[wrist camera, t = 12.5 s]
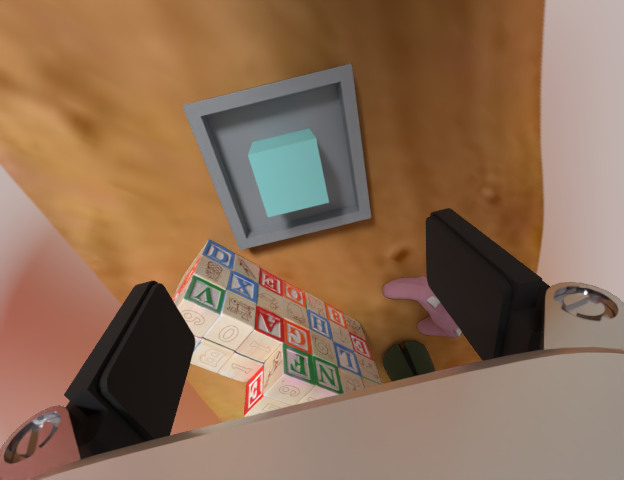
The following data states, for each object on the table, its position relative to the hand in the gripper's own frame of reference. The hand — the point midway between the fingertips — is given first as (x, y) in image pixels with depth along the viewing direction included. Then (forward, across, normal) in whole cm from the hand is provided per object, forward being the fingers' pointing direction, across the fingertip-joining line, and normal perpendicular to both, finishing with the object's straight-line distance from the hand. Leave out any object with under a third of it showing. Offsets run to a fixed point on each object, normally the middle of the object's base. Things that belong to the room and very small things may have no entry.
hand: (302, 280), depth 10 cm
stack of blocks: (+19, +5, +16) cm, 25 cm away
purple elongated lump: (+18, -12, +20) cm, 30 cm away
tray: (+18, 0, +1) cm, 19 cm away
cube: (+18, 0, +1) cm, 18 cm away
